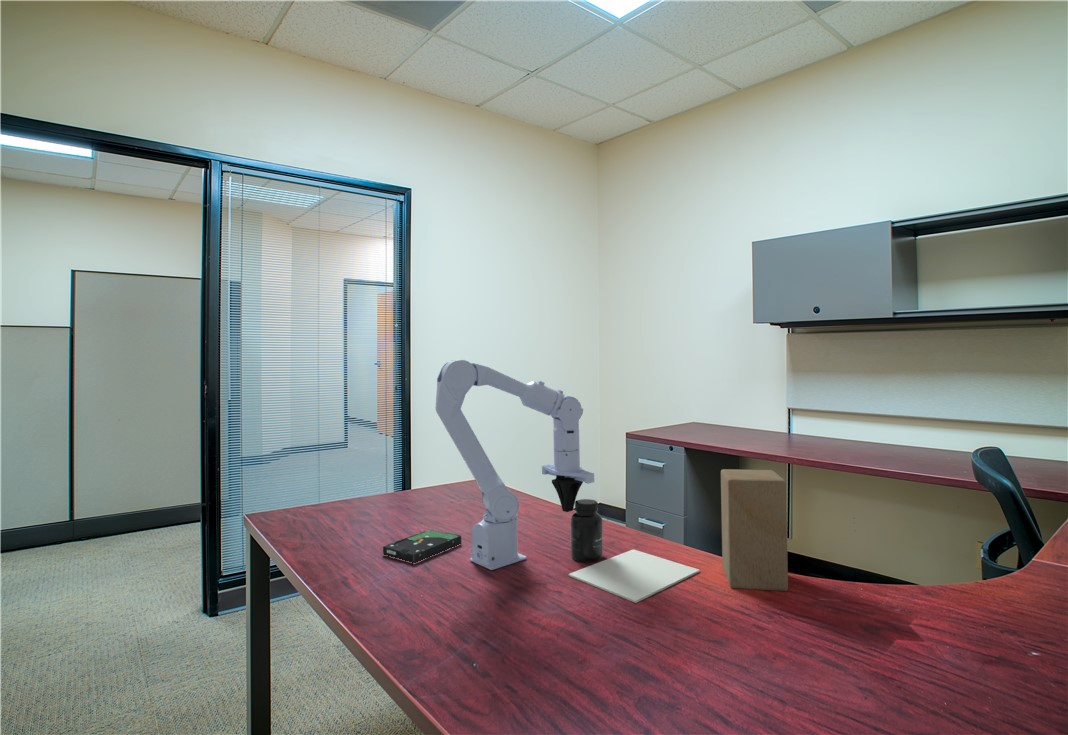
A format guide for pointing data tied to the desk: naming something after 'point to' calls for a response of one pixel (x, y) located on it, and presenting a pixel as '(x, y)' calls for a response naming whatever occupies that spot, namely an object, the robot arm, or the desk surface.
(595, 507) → the supplement bottle
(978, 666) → the desk surface
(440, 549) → the disk drive
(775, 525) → the wooden block
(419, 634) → the desk surface
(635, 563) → the mat
